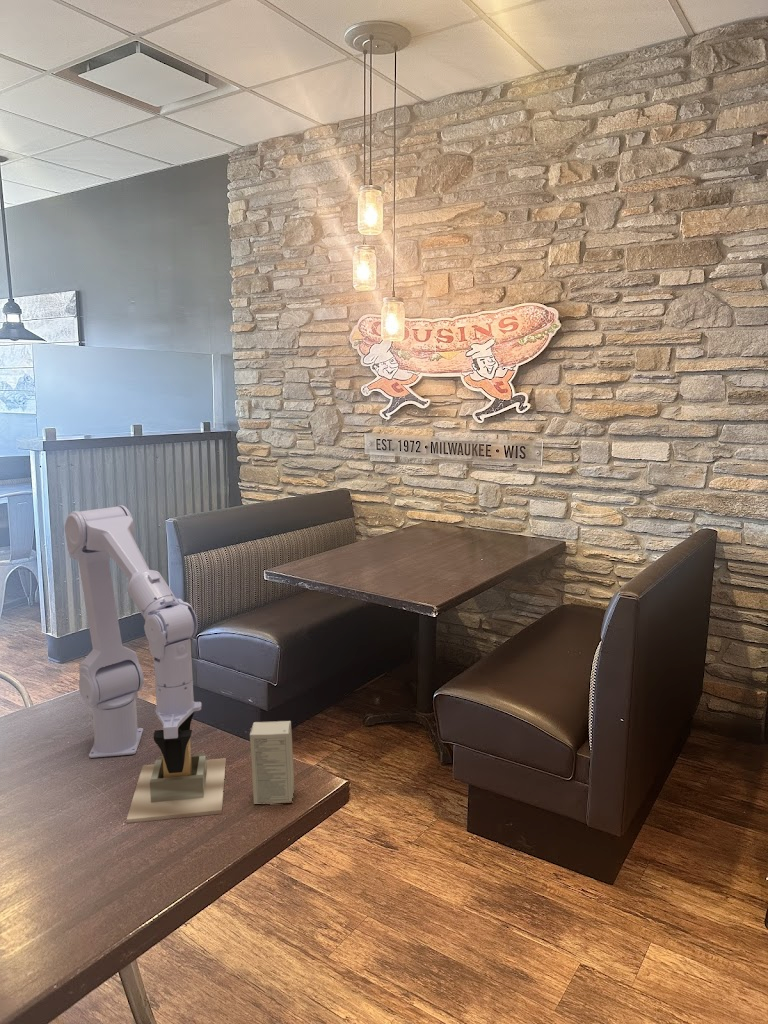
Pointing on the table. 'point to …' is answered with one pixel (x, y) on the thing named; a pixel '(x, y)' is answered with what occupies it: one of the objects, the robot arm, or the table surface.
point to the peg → (186, 769)
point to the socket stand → (179, 791)
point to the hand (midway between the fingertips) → (178, 759)
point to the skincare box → (272, 762)
